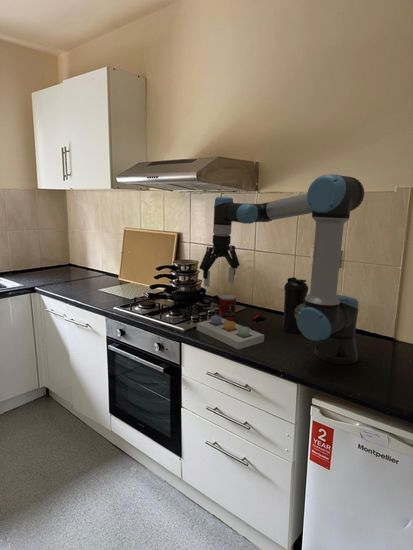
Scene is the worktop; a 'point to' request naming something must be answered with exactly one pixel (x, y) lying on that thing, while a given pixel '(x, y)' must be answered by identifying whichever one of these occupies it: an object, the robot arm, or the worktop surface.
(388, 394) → the worktop surface
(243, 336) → the button sage
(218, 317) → the button slate
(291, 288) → the water bottle
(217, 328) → the console
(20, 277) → the worktop surface
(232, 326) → the button orange
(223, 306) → the canned food
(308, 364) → the worktop surface
